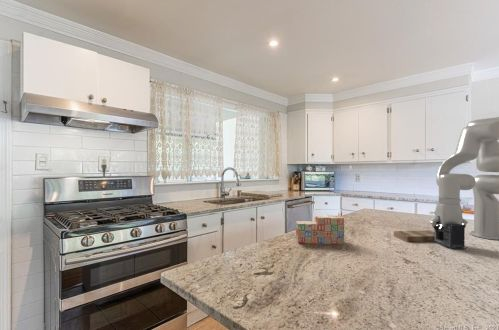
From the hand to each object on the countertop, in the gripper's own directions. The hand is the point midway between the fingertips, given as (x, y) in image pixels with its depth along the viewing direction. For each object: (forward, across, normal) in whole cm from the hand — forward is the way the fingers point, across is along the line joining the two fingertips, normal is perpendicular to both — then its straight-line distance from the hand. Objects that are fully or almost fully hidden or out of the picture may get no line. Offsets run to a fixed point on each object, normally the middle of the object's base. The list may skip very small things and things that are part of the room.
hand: (448, 239), depth 114 cm
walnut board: (+3, +5, -11) cm, 13 cm away
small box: (+3, 0, 0) cm, 3 cm away
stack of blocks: (+3, +57, -10) cm, 58 cm away
